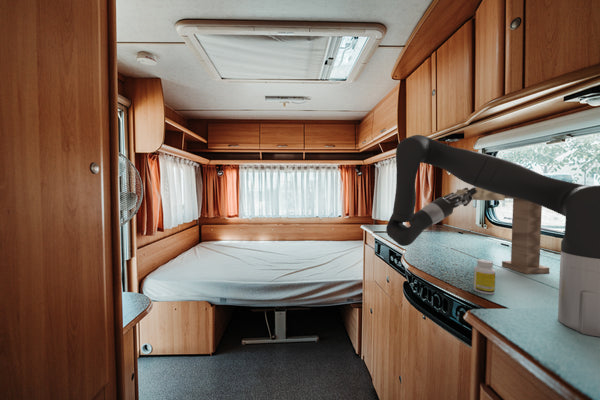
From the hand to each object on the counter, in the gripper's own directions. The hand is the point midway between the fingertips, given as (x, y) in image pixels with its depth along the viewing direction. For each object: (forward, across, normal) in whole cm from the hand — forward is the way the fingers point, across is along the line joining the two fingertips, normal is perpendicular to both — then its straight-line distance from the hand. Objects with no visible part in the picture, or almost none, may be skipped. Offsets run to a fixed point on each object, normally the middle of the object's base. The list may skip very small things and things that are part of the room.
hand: (471, 189), depth 94 cm
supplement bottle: (-25, -18, +23) cm, 38 cm away
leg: (+1, 0, +5) cm, 5 cm away
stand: (+6, 0, +40) cm, 41 cm away
